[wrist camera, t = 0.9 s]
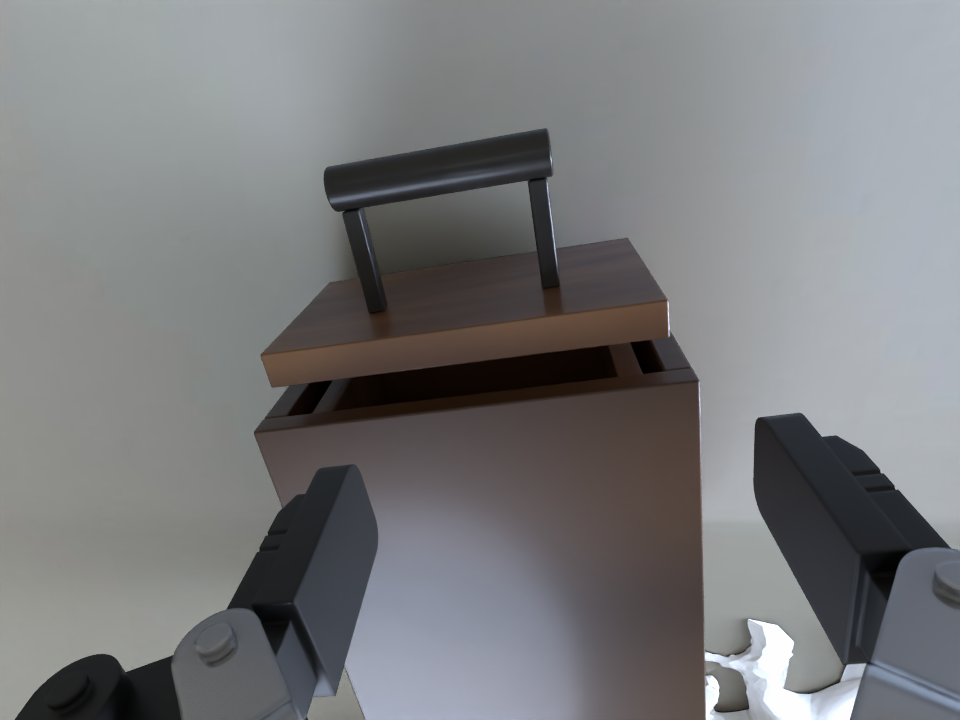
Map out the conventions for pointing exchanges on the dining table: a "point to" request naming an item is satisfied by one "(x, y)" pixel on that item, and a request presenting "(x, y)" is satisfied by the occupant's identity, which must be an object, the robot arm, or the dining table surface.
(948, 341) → the dining table surface
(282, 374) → the drawer
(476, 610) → the cabinet
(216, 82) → the dining table surface
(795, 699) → the white tree stump
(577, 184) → the dining table surface
